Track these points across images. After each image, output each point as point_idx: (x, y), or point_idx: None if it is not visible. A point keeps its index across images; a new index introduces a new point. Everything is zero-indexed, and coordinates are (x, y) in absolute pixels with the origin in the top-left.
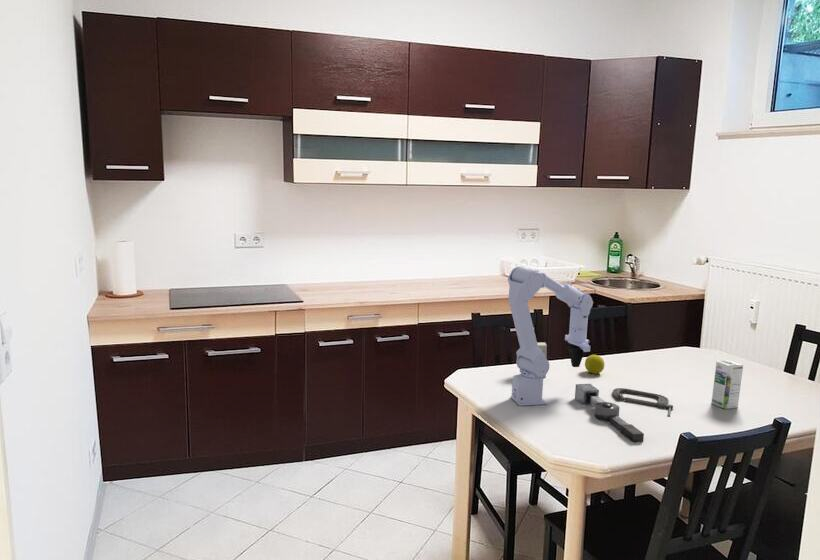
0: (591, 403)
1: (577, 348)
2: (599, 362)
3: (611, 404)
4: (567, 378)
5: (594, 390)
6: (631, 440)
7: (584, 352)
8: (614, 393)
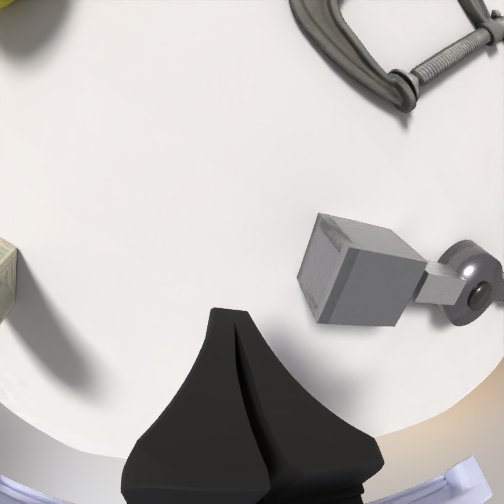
0: None
1: None
2: None
3: (490, 287)
4: (31, 144)
5: (417, 283)
6: None
7: (340, 429)
8: (364, 76)
